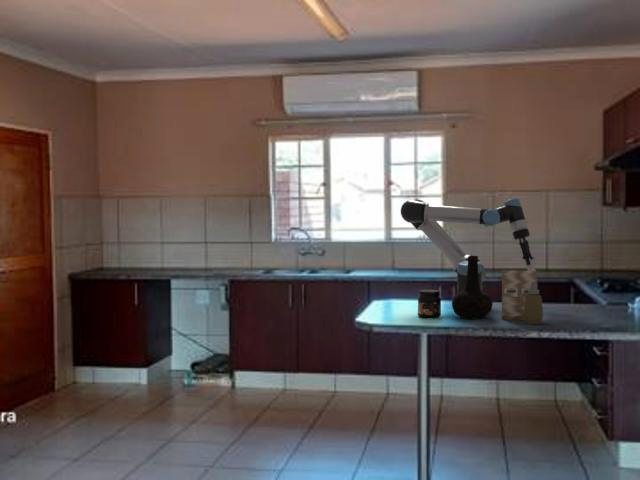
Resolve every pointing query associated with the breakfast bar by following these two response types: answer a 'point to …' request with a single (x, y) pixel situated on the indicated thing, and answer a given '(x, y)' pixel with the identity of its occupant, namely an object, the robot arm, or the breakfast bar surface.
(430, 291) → the supplement container
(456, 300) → the glass bottle
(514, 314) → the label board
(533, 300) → the squeeze bottle
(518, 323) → the breakfast bar surface
